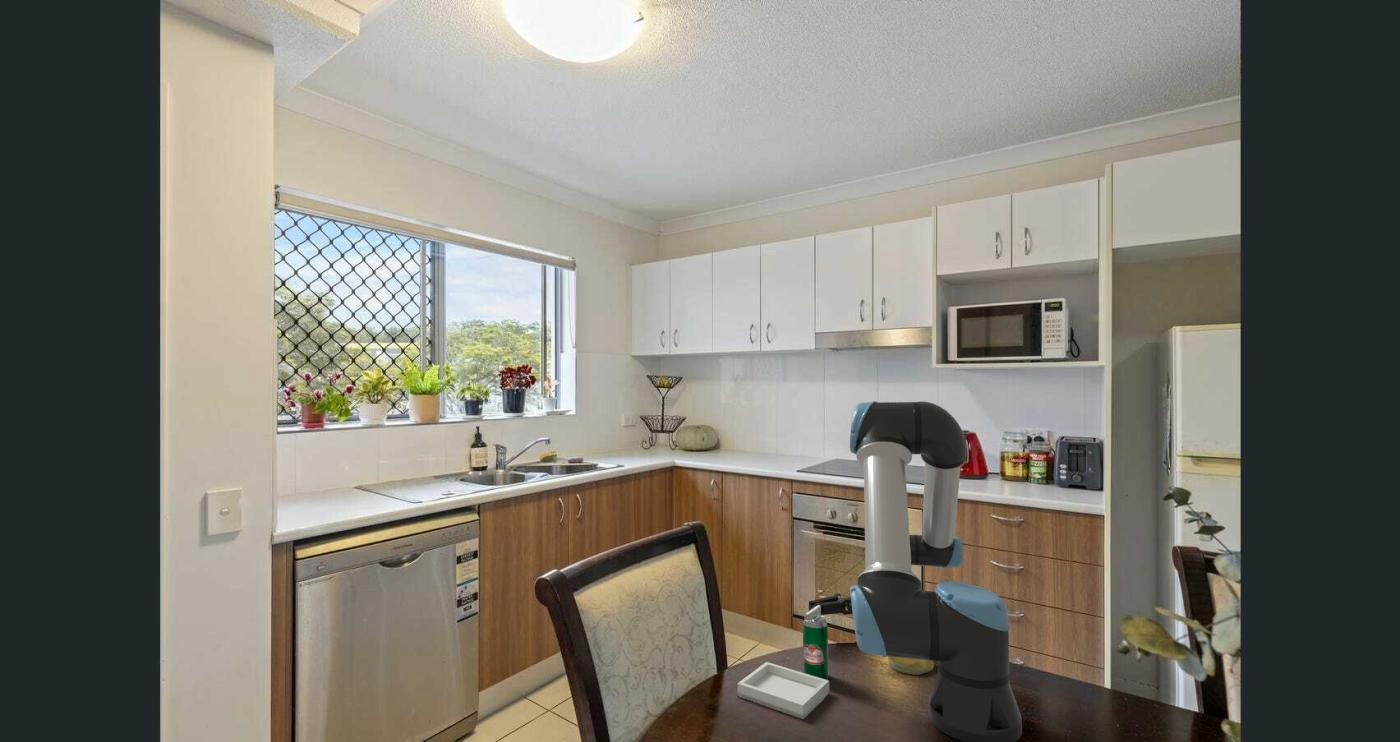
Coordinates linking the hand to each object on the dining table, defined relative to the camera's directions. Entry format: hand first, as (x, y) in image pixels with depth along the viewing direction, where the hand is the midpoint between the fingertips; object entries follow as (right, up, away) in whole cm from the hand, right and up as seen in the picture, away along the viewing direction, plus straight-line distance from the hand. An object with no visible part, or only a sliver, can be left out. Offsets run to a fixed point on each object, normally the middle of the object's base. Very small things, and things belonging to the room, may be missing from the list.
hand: (834, 627), depth 133 cm
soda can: (-6, -7, -8) cm, 12 cm away
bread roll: (+15, -7, -3) cm, 17 cm away
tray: (-13, -7, -15) cm, 21 cm away
